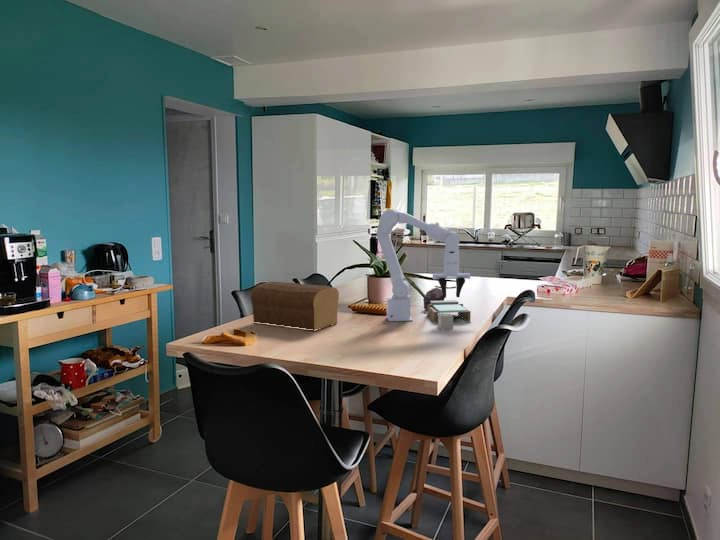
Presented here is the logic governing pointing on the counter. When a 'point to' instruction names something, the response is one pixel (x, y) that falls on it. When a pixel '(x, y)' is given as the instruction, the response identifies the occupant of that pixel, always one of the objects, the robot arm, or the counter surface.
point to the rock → (433, 296)
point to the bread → (295, 304)
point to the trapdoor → (447, 306)
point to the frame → (434, 314)
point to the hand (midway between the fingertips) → (451, 297)
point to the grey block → (445, 321)
